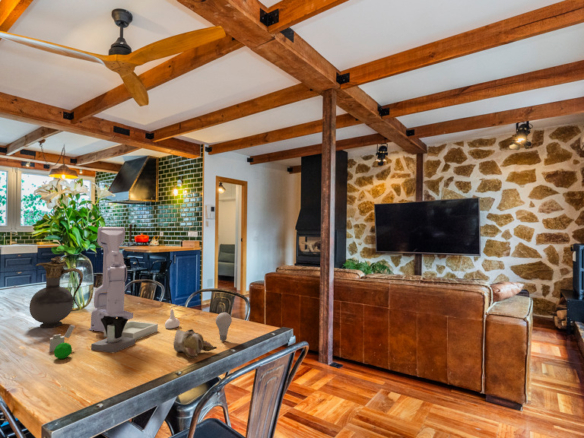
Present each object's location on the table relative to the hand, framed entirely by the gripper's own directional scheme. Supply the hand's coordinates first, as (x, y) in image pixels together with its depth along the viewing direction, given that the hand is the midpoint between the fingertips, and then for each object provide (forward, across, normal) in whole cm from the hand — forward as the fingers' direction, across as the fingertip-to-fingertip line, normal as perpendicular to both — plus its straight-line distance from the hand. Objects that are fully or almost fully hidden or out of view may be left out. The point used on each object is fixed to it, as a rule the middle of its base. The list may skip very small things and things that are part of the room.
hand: (114, 337), depth 122 cm
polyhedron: (+4, -7, -14) cm, 16 cm away
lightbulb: (+4, +34, +19) cm, 39 cm away
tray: (+3, -5, +14) cm, 15 cm away
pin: (+3, 0, 0) cm, 3 cm away
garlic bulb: (+4, +4, +28) cm, 29 cm away
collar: (+3, 0, 0) cm, 3 cm away
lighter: (+4, -15, -8) cm, 17 cm away
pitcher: (+4, -45, +13) cm, 47 cm away
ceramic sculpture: (+4, +30, +4) cm, 31 cm away
